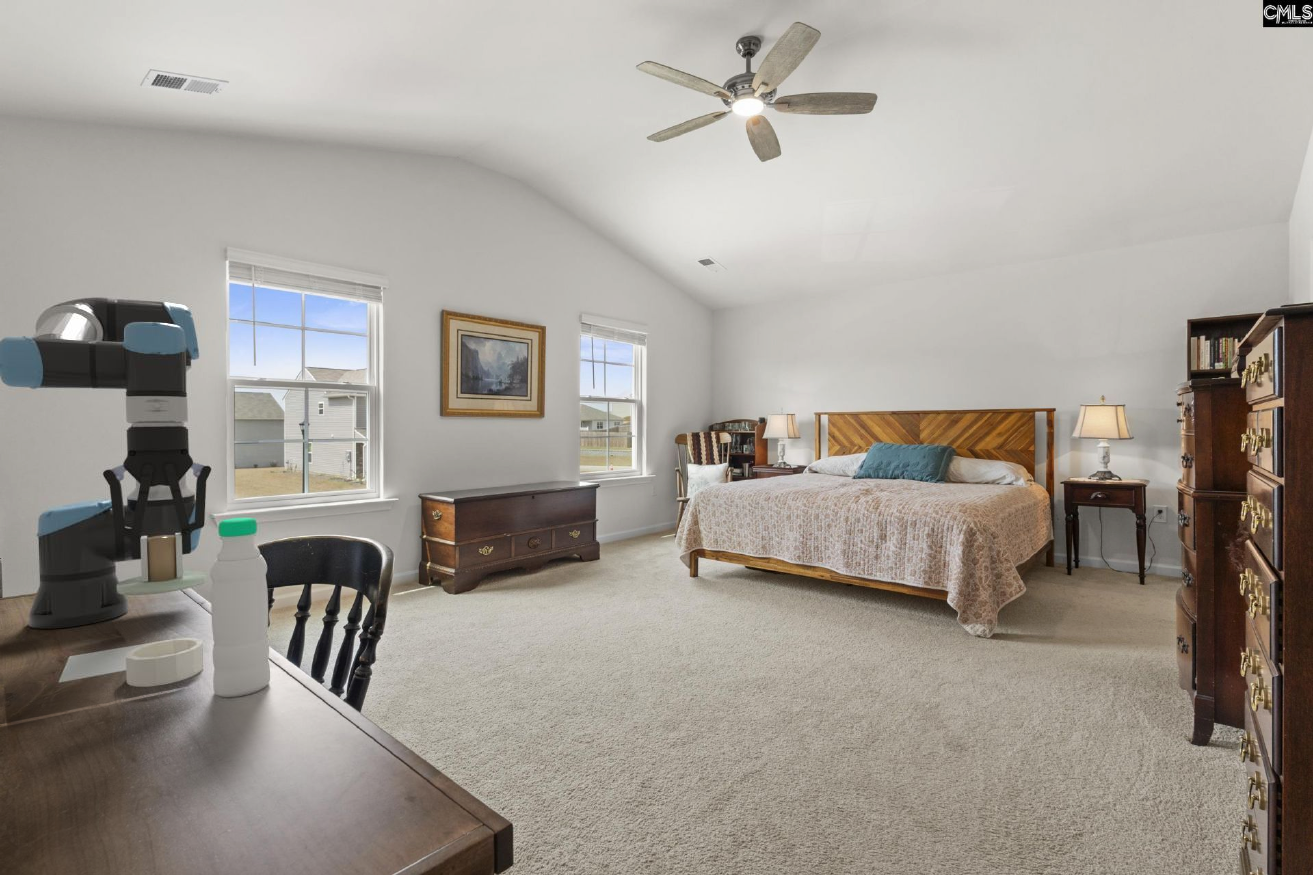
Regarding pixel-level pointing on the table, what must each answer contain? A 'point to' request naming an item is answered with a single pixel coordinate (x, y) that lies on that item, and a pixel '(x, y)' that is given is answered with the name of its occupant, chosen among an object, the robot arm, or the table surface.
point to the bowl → (164, 662)
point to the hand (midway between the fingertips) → (162, 577)
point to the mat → (96, 663)
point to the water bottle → (239, 612)
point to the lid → (161, 571)
